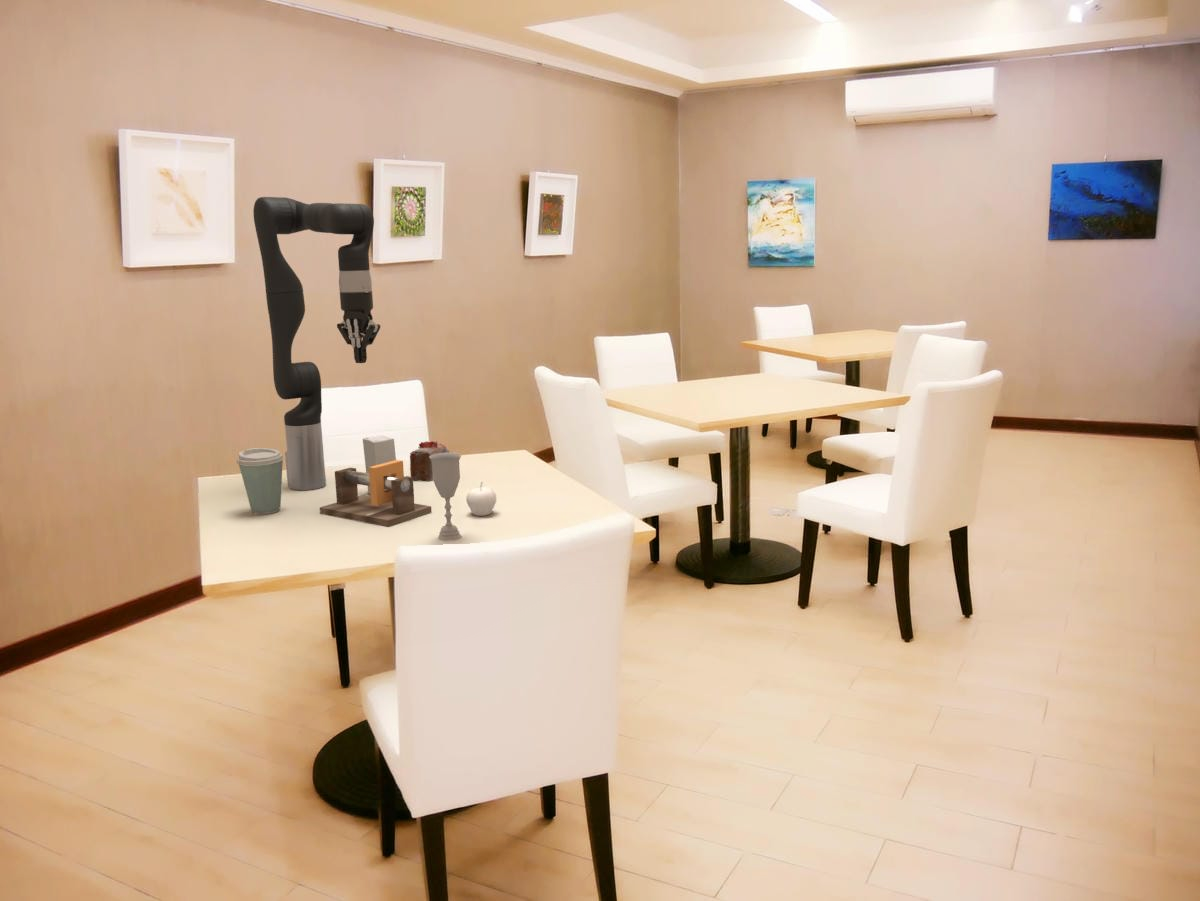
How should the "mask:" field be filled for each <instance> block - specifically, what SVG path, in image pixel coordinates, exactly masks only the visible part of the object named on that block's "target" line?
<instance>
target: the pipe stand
mask: <svg viewBox="0 0 1200 901" xmlns="http://www.w3.org/2000/svg"><path fill="white" fill-rule="evenodd" d="M348 470H351V471H357V467H356V468H355V467H347V468H344V469H340V470H339V469H338V470H336V471H334V480H335V483H334V484H335V493H336V494H335V495H336V502H333V503H331V504H327V505H324V506H323V505H322V506H319V514H322V515H326V516H332V517H337V518H342V519H346V520H352V521H357V522H362V523H367V524H374V525H378V526H383V527H387V528H388V527H392V526H395V525H398V524H402V523H404V522H407V521H411V520H412V519H416V518H420V517H421V516H426V515H427V514H431V513H432V506H431V505H426V504H420V503H415V492H414V480H413V477H411V476H409V475H406V476H405V475H404V477H402V478H398V479H394V480H391V488H392V502H389V503H386V504H382V505H379V506H374V505H371V495H368V494H361V495H359V491H358V484H353V483H347V482H346V481H345V480H344V474H345V472H346V471H348ZM404 479H408V480H409V482H410V488H409V490H408V491H407V492H403V490H401V483H402V481H403V480H404ZM408 480H406V481H408ZM404 482H405V481H404ZM402 485H403V484H402ZM404 486H405V485H404ZM402 488H403V487H402ZM405 491H406V490H405Z"/></svg>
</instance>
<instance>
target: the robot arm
mask: <svg viewBox="0 0 1200 901" xmlns="http://www.w3.org/2000/svg"><path fill="white" fill-rule="evenodd" d="M253 221H254V222H253V223H254V228H255V233H256V237H257V242H258V247H259V252H260V257H261V262H262V263H261V264H262V268H263V278H264V285H265V298H266V306H267V312H268V317H269V318H268V319H269V325H270V334H271V346H272V369H273V370H272V371H273V374H272V375H273V383H274V387H275V388H274V389H275V391H276V394H277V395H278V396H279V398H280V399H282V400H292V399H293V400H294V399H300V401H299V403H298V404H297V405H296V406H294V408H292V409H290V410H289V411H287V412H285V413H284V416H283V418H284V419H283V420H284V431H285V441H286V450H285V453H284V456H285V467H286V468H285V469H286V478H287V480H286V482H287V487H289V488H290V489H292V490H294V491H310V490H318V489H321V488H324V487H325V486H326V485H327V482H326V481H327V480H326V468H325V466H326V464H325V456H324V445H323V444H324V442H323V440H324V439H323V431H322V430H323V429H322V411H323V407H322V404H323V402H322V380H321V379H322V378H321V373H320V370H319V368H318V366H317V365H316V364H315V363H314V362H311V361H299V362H293V361H292V348H293V342H294V340H295V337H296V334H297V333H298V330H299V328H300V326H301V325H302V321H303V319H304V318H305V315H306V313H305V312H306V305H305V303H306V302H305V296H304V295H305V294H304V288H303V284H302V282H301V279H299V277H298V275H297V274H296V272H295V271H294V269H292V267H291V265H290V264H289V263H288V261H287V260H286V258H285V257H284V255H283V253H282V250H281V248H280V247H281V246H280V244H279V238H278V235H292V234H295V233H300V232H303V231H308V230H310V231H312V232H314V233H315V232H316V233H322V234H323V233H324V234H325V233H326V234H333V235H353V236H352V240H351V242H350V243H349V244H345V245H342V246H340V247H339V248H338V249H337V250H338V251H337V258H338V259H337V260H338V271H339V272H338V273H339V274H338V287H339V300H340V303H339V304H340V310H341V311H343V316H342V319H343V320H342V321H341V322H340V323H337V324H336V328H337V329H338V331H339V333H340V335H341V337H342V338H343V339H344V341H345V344H347V345H349V346H351V347H352V348H353V358H354V362H355V363H356V364H365V363H366V362H367V358H368V356H367V347H368V346H370V345H373V344H374V341H375V339H376V337H377V335H378V333H379V331H380V330H381V325H380V324H379V323H375V321H374V320H373V315H372V310H373V309H374V300H373V284H372V276H371V271H370V255H369V254H370V248H371V241H372V236H373V232H374V225H375V220H374V215H373V212H372V210H371V209H370V207H369V206H368V205H366V204H363V203H331V202H314V203H304V202H302V201H298V200H296V199H293V198H290V197H281V196H280V197H279V196H278V197H277V196H275V197H274V196H261V197H258V198H256V200H255V202H254V205H253Z"/></svg>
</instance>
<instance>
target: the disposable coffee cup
mask: <svg viewBox="0 0 1200 901" xmlns="http://www.w3.org/2000/svg"><path fill="white" fill-rule="evenodd" d="M283 460H284V456H283V454H282V452H280V451H279V450H278V449H274V448H266V447H257V448H253V447H252V448H247V449H245V450H244V449H243V450H241V451H240V452H238V457H237V458H236V464H237V465H238V466H239V471H240V474H241V477H242V481H243V484H244V488H245V491H246V495H247V498H248V503H249V507H250V510H251V511H252V513H253V514H254V515H257V516H258V515H259V516H260V515H263V516H264V515H271V514H274V513H278V512H279V511H280V508H281V506H282V502H281V501H282V487H283V486H282V480H283Z"/></svg>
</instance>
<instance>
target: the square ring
mask: <svg viewBox="0 0 1200 901" xmlns="http://www.w3.org/2000/svg"><path fill="white" fill-rule="evenodd" d="M387 475H390V477H396V478H402V477H405V473H404V460H400V459H396V460H394V461H390V462H387V463H383V464H379V465H375V466H371V467H369V480H370V493H369V494H370V496H371V505H374V506H379V505H382V504H386V503H389V502H392V490H390V489H388V490H384V477H383V476H387Z"/></svg>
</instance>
